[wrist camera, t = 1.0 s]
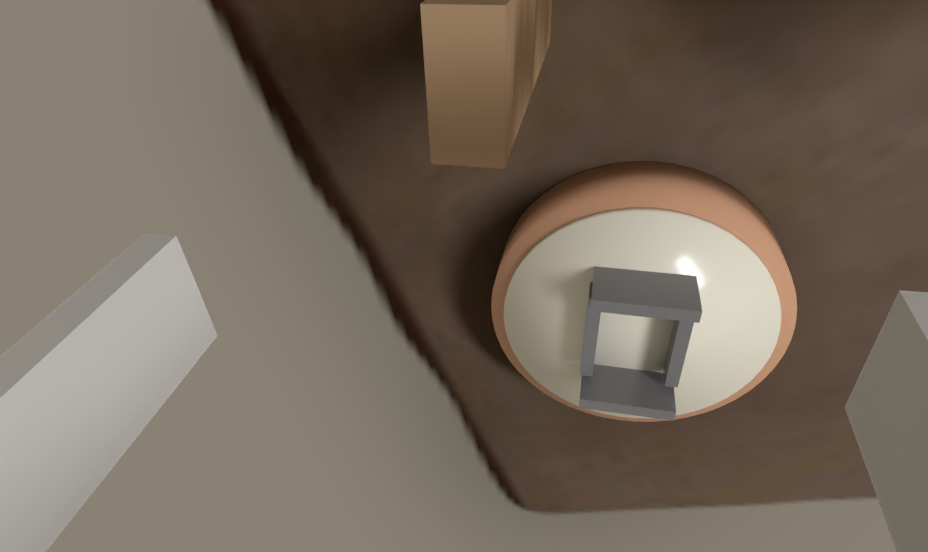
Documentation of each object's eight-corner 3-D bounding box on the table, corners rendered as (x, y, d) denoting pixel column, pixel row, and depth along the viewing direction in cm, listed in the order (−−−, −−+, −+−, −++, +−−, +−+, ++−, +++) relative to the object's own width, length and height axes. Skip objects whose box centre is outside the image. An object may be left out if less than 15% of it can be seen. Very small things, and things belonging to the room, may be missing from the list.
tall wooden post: (503, -65, 23) (420, 4, 14) (554, -65, 23) (506, 5, 13) (502, 42, 26) (430, 163, 16) (549, 44, 25) (504, 168, 16)
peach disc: (501, 152, 29) (477, 213, 24) (822, 172, 26) (866, 245, 21) (500, 365, 37) (481, 442, 32) (743, 397, 34) (762, 485, 29)
